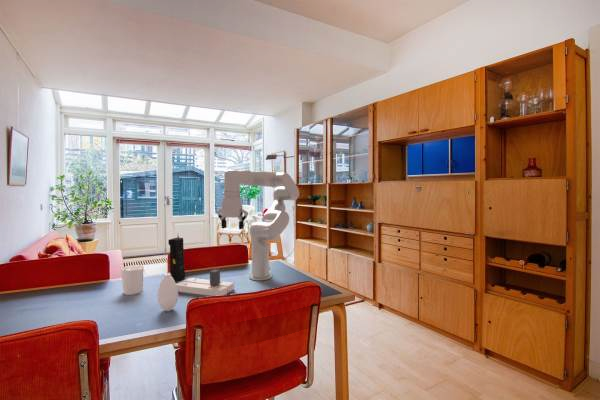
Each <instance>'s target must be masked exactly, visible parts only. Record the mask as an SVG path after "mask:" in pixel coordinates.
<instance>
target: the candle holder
mask: <svg viewBox="0 0 600 400" xmlns="http://www.w3.org/2000/svg"><path fill="white" fill-rule="evenodd" d="M144 268H145V267H144V265H141V264H134V265H133V264H132V265H127V266H123V267H121V268H120V271H121V273H120V274H121V283H122V284H121V285H122V289H123V290H122V291H123V294H124V295H127V296H128V295H129V296H130V295H132V296H133V295H136V294H137V295H138V294H140V293H142V292H143V290H144V288H143V287H144V270H145V269H144Z"/></svg>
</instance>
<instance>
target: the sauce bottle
mask: <svg viewBox="0 0 600 400" xmlns="http://www.w3.org/2000/svg"><path fill="white" fill-rule="evenodd" d="M176 284H177V283H176V281H174V279H173V278H172V276H171V274H170V273H169V268H168V267H167V268H166V273H164V275H163V277H162V278H161V281H160V283H159V286H158V290H157V302H158V306H159V307H160V308H161V310H163V311H165V312H170V311H171V310H173V309H174V308H175V307H176V306H177V302H178V299H179V294H178V289H177V285H176Z"/></svg>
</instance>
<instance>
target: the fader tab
mask: <svg viewBox="0 0 600 400" xmlns="http://www.w3.org/2000/svg"><path fill="white" fill-rule="evenodd" d="M209 280H210V285H211V286H217V285H218V284H220V281H221V270H220V269H216V268H215V269H212V270H210V271H209Z"/></svg>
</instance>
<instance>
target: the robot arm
mask: <svg viewBox="0 0 600 400" xmlns="http://www.w3.org/2000/svg"><path fill="white" fill-rule="evenodd" d="M223 174H224V177H223V178H224V179H223V181H224V185H223V186H224V188H223V189H224V191H223V192H222V196H224V197H222V201H221V207H220V208H221V209H219V210H217V211H216V213H217V217H218V219H220V221H221V223H220V224H221V229H226V228H227V220H226V219H227V218H237V219H238V220H239V222H238V229H239V230H244V227H245V226H244V225H245V223H244V222H245V220H246V219H247V217H248V215H249V212H248V211H247V210H245V209H243V207H244V206H243V201H242V197H241V195H240V194H241V188H240V186H253V187H269V188H270V187H271V188H274V190H273V194H272V197H273V203H272V204H271V206H270V207H269V208H268V209H267V210H266V212H265V213H264V214H263V215H262V221H255V222H253V223H252V224H251V225H250V228H249V235H250V239H251V273H250V274H249V277H248V278H249V279H250V280H252V281H257V282H258V281H266V280H270V279H272V277H273V275H272V274H271V273H270V270H271V266H270V247H269V242H268V241H275V240H277V239H278V238H279V237H280V236H281V234H282V233H283V232H284V231H285V229H286V228H287V226H288V225H289V224H290V215H289V213H288V212H287V211H286V205H285V201H296V200H298V198H299V197H300V191H299V187H298V186H297V184H296V183H295V181H294V179H293V178H292V175H290V174H289V173H288V172H274V171H264V170H256V171H255V170H254V171H251V170H249V169H239V170H236V169H227V170H225V171H224V173H223ZM243 214H244V215H243Z"/></svg>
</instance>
